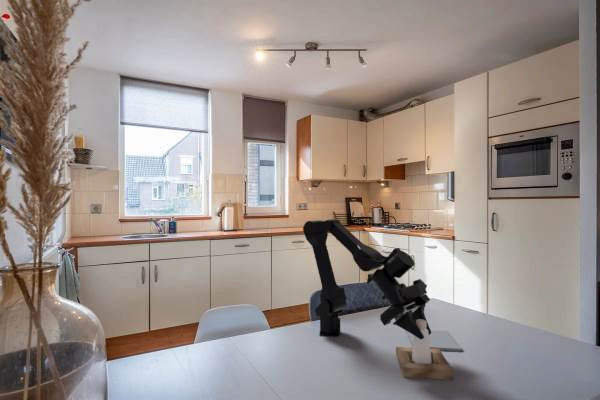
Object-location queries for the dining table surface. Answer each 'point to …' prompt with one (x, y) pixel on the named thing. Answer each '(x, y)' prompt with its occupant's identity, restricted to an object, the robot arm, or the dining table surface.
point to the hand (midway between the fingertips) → (426, 336)
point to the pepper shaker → (421, 345)
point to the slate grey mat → (439, 341)
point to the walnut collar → (424, 365)
